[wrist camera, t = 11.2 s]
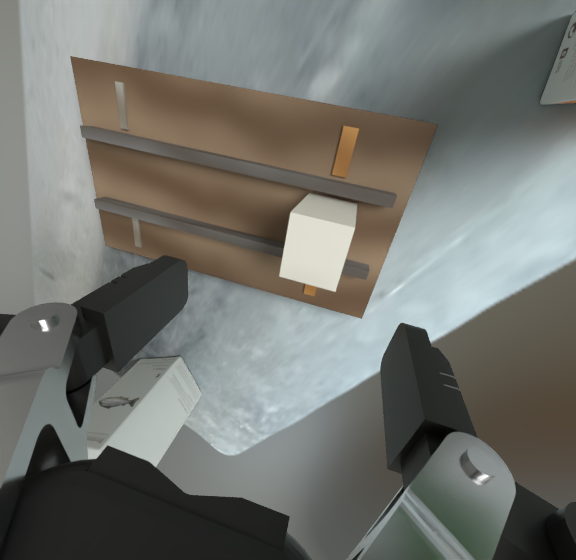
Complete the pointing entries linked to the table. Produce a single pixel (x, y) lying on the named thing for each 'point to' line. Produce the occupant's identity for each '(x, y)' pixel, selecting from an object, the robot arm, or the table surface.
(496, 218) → the table surface
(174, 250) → the fader console
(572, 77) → the skincare box
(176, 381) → the supplement box
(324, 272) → the fader tab
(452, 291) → the table surface
